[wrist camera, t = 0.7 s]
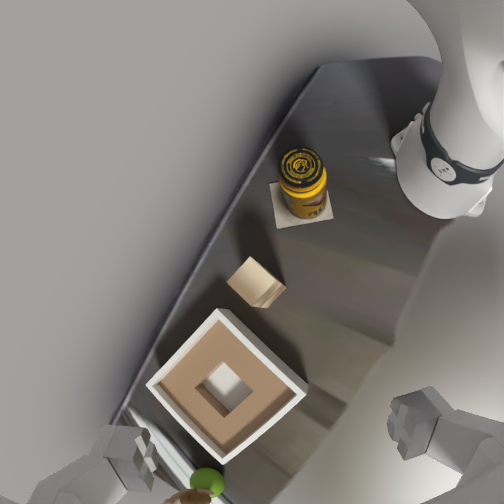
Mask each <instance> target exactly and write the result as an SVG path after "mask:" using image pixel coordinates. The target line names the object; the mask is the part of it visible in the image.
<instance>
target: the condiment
mask: <svg viewBox="0 0 504 504" xmlns="http://www.w3.org/2000/svg"><path fill="white" fill-rule="evenodd" d="M278 168H279V182H276V183H272V184H270V190H271V195H272V201H273V207H274V213H275V219H276V225H277V229H279V228H284V227H289V226H294V225H300V224H306V223H311V222H317V221H322V220H328V219H332V218H333V213H332V209H331V205H330V200H329V196H328V192H327V177H326V170H325V168H324V165H323V161H322V159H321V158H320V156H319V155H318V154H317V153H316V152H315V151H313V150H312V149H310V148H305V147H296V148H292V149H290V150H288V151H287V152H285V153H284V155H283V156H282V158H281V159H280V162H279V166H278ZM290 213H291V214H290Z"/></svg>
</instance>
